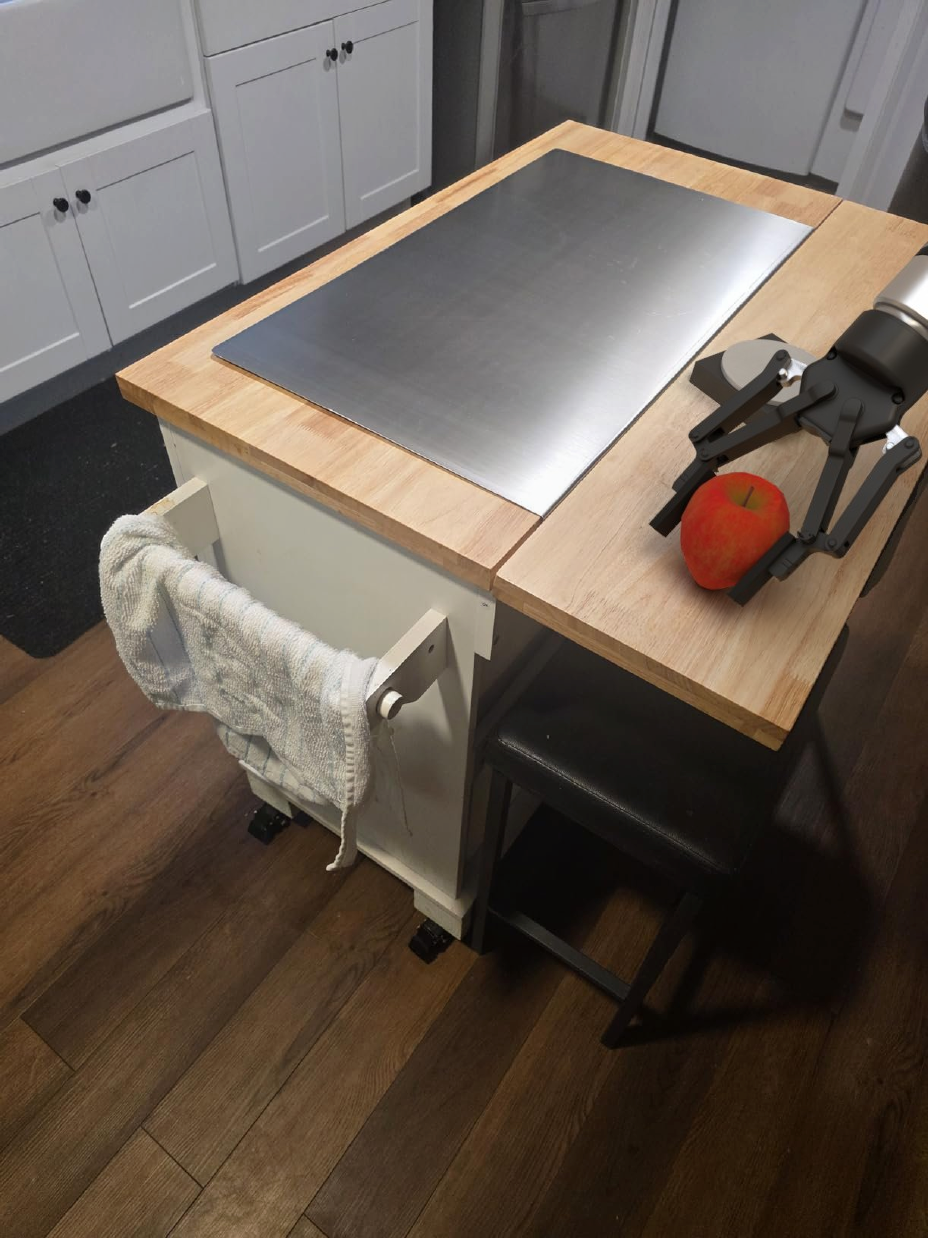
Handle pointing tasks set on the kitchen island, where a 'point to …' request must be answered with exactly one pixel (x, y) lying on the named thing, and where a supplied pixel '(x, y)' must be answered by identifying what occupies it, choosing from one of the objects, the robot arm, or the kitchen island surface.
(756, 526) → the apple
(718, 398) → the kitchen scale
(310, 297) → the kitchen island surface
